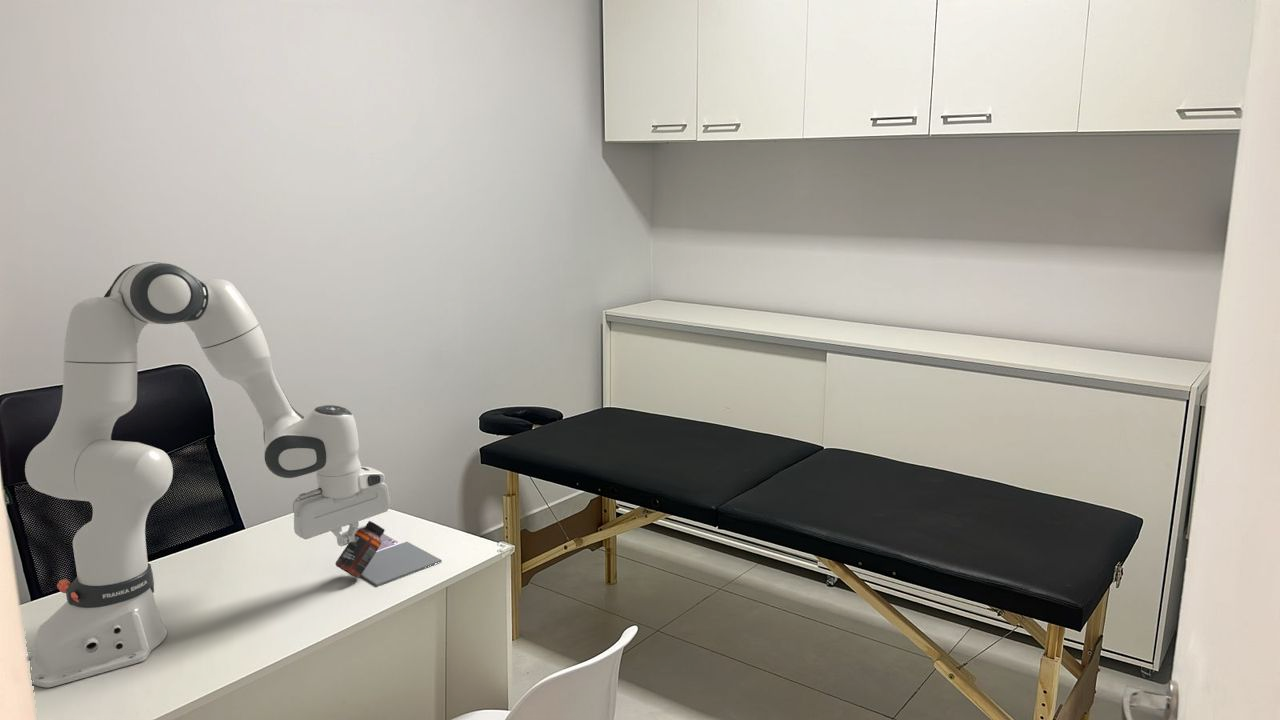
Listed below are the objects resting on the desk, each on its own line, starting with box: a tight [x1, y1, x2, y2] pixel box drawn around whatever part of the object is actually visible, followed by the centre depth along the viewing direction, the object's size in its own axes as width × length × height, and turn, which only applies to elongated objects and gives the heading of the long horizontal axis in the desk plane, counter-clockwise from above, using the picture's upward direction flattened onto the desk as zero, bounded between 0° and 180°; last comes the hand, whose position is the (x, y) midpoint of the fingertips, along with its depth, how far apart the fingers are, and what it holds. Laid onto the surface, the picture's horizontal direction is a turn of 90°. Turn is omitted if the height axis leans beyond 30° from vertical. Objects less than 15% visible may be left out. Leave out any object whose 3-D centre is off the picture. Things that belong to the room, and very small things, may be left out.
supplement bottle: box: [335, 520, 386, 579], centre depth 189 cm, size 6×6×11 cm
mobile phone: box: [340, 525, 400, 552], centre depth 207 cm, size 8×1×15 cm
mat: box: [360, 541, 443, 587], centre depth 195 cm, size 16×14×1 cm
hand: (346, 543), depth 186 cm, fingers closed
